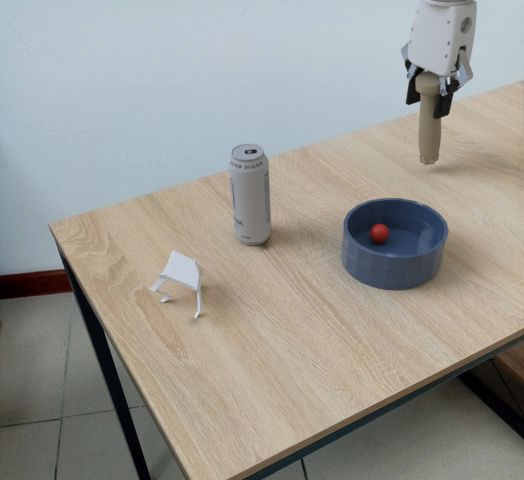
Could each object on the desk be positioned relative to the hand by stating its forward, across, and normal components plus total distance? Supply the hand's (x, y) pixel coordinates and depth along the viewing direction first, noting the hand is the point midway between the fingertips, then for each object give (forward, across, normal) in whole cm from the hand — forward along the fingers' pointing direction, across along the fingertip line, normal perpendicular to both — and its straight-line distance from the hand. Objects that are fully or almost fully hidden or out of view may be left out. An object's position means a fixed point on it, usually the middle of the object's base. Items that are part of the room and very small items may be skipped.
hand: (426, 108), depth 92 cm
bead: (+9, -14, +21) cm, 27 cm away
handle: (+10, -1, -2) cm, 10 cm away
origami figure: (+12, -9, +52) cm, 54 cm away
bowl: (+12, -18, +21) cm, 30 cm away
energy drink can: (+12, -1, +36) cm, 38 cm away
